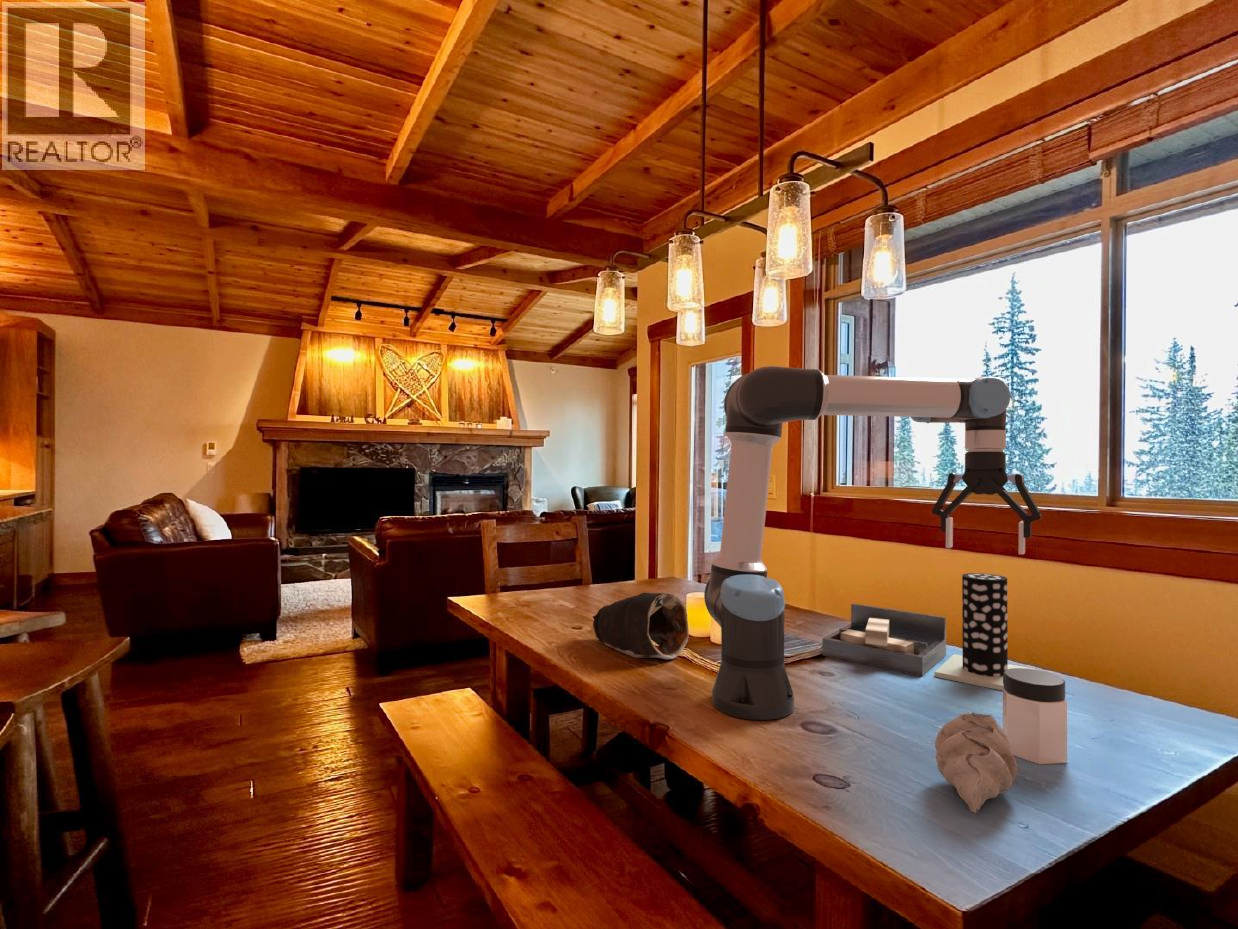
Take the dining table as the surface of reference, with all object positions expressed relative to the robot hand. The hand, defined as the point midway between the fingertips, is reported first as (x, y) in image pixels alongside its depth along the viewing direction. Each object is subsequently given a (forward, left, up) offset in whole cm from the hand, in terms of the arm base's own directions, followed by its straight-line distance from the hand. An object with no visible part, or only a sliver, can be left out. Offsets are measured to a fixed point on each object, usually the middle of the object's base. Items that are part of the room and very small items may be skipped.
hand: (984, 550), depth 133 cm
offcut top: (+15, +15, -21) cm, 30 cm away
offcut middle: (+15, +15, -24) cm, 32 cm away
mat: (0, 0, -27) cm, 27 cm away
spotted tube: (0, 0, -26) cm, 26 cm away
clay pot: (+41, +65, -27) cm, 82 cm away
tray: (+18, +11, -27) cm, 34 cm away
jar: (-30, +23, -27) cm, 46 cm away
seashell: (-36, +42, -27) cm, 61 cm away
